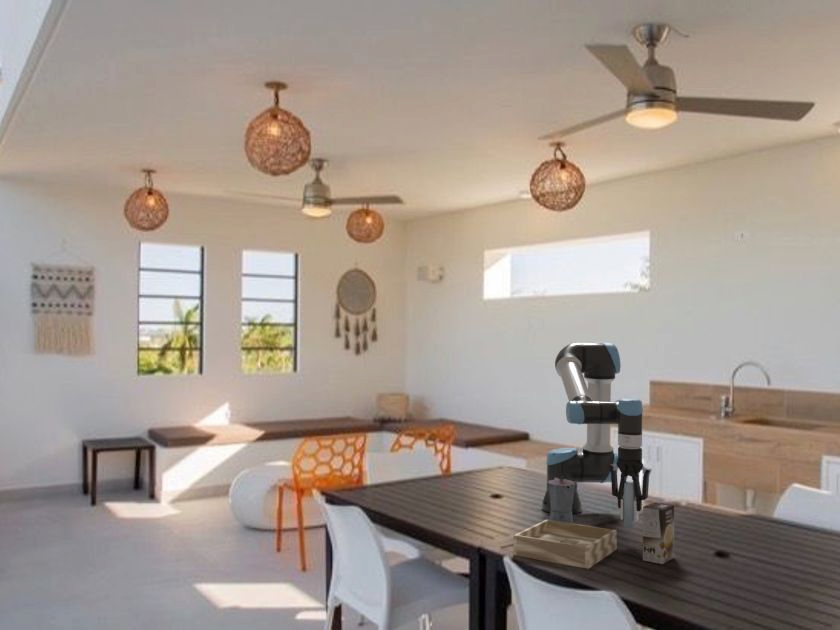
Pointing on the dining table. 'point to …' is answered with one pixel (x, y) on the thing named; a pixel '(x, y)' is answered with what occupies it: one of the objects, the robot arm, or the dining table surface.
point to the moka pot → (561, 499)
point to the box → (565, 543)
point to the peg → (629, 504)
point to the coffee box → (658, 532)
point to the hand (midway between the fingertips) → (629, 519)
